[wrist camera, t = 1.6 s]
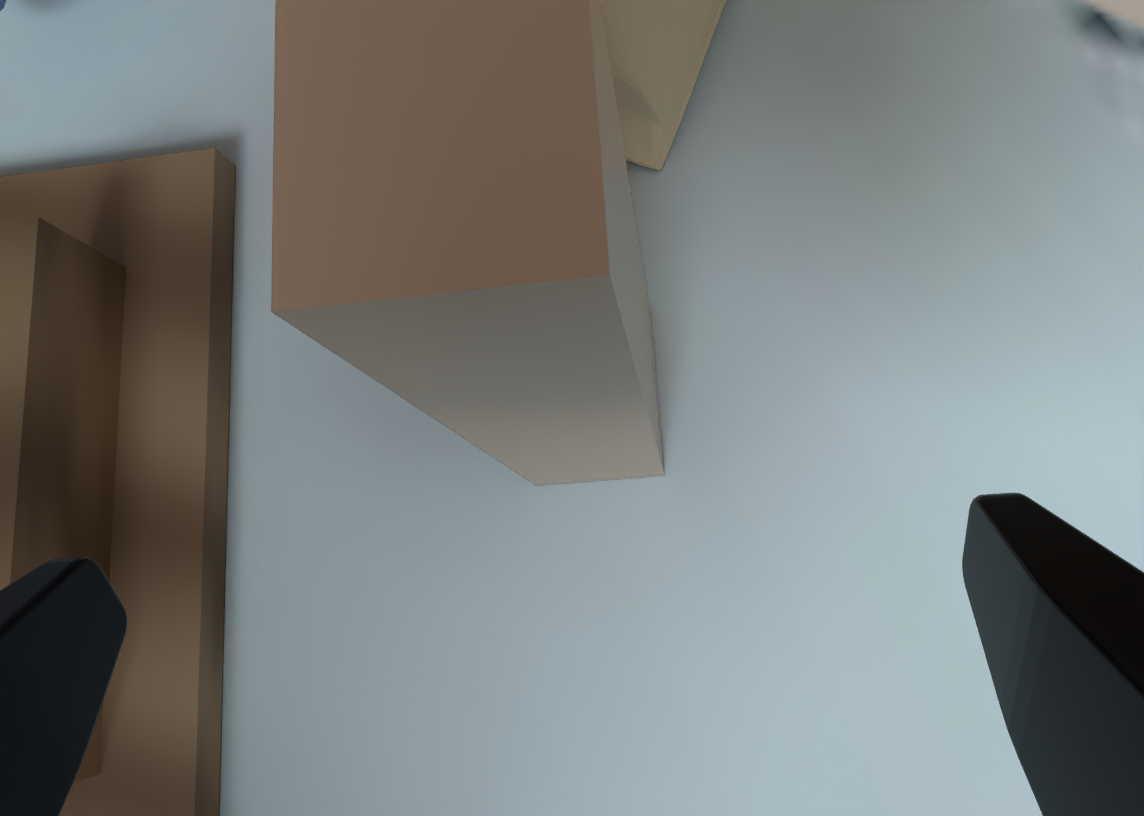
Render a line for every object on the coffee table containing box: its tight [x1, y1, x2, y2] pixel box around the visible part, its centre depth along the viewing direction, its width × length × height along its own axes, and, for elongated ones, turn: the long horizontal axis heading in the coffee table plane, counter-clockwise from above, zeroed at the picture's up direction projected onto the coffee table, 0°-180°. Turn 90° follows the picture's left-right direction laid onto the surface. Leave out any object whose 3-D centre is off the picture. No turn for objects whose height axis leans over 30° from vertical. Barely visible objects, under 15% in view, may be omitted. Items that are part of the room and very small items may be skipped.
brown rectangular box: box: [271, 0, 664, 486], centre depth 14 cm, size 3×4×13 cm
